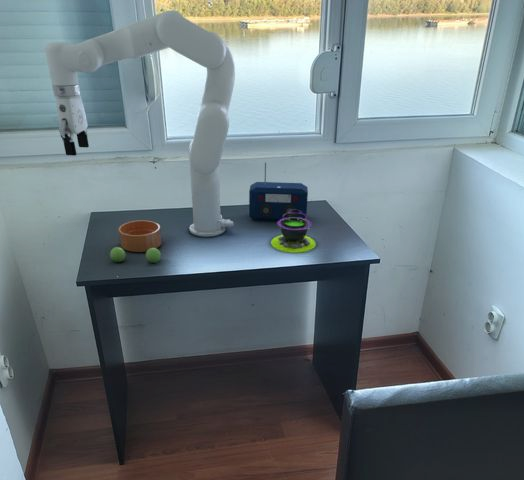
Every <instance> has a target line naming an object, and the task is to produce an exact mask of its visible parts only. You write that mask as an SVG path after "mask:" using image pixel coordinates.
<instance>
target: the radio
mask: <svg viewBox="0 0 524 480" xmlns="http://www.w3.org/2000/svg"><path fill="white" fill-rule="evenodd" d="M248 191H249V193H248V196H249V197H248V203H249V204H248V205H249V206H248V208H249V209H248V210H249V211H248V217H249V218H250V219H252V220H253V221H259V222H263V221H264V222H278V221H279V220H281V222H283V221H282V219H283V218H285V219H286V218H287V217H288V218H289V217H290V218H292V217H294V218H296V217H297V218H298V217H299V218H301V219H305V218H306V216H307V212H308V211H307V210H308V196H309V189H308V186H307V185H305V184H303V183H301V182H279V181H277V182H276V181H267V162H264V181H255V182H254V183H252V184H250V186H249V190H248ZM293 209H294V210H293ZM295 209H296V210H295ZM299 210H300V211H299ZM288 211H289V212H292V214H291V213H289V212H288ZM301 211H302V213H301ZM296 212H297V213H296ZM286 213H287V214H286ZM284 214H285V215H284ZM304 214H305V215H304ZM283 215H284V216H283ZM289 215H290V216H289ZM306 219H307V218H306ZM306 219H305V220H306ZM283 220H284V219H283Z"/></svg>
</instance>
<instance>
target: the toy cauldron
mask: <svg viewBox="0 0 524 480" xmlns="http://www.w3.org/2000/svg"><path fill="white" fill-rule="evenodd" d="M293 210H294V209H293ZM295 210H296V209H295ZM299 211H300V210H299ZM288 212H289V211H288ZM289 213H291V214H292V212H289ZM296 213H297V212H296ZM301 213H302V211H301ZM286 214H287V213H286ZM284 215H285V214H284ZM284 215H283V216H284ZM304 215H305V214H304ZM289 216H290V215H289ZM307 217H308V215H306V218H305V219H301V218H299V217H298V218H297V217H296V218H294V217H292V218H290V217H289V218H288V217H287V218H286V219H285V218H283V219H284V220H283V219H282V221H281V220H279V221H277V226H278V227H280V232H281V234H280V235H276V236H275V237H274V238H272V239H271V242H270V243H271V246H272V248H274V249H276V250H278V251H280V252H285V253H292V254H300V253H306V252H310V251H311V250H314V249H315V247H316V246H317V245H316V240H314V238H311V237H310V236H307V233H308V230H311V227H312V226H313V223H312V221H310V220H309V219H307Z"/></svg>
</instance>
